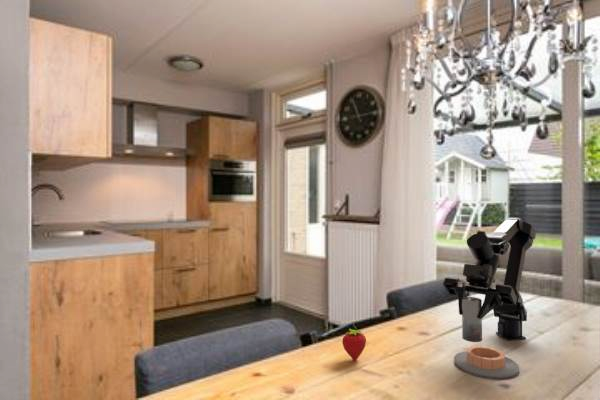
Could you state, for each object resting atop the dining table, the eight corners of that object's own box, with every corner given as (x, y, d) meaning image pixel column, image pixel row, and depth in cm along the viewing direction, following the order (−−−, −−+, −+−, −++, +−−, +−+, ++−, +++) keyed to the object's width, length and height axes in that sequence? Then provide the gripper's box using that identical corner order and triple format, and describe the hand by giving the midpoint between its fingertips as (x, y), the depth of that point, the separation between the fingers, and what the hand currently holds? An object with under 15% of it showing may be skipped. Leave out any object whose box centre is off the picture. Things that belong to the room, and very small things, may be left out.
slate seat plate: (493, 352, 115) (493, 340, 115) (533, 376, 100) (533, 362, 100) (443, 356, 113) (442, 344, 113) (476, 381, 97) (476, 367, 97)
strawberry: (337, 360, 111) (337, 325, 111) (356, 353, 116) (355, 319, 116) (352, 366, 106) (352, 330, 106) (371, 359, 111) (370, 324, 111)
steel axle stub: (470, 334, 111) (469, 296, 111) (486, 339, 107) (485, 299, 107) (458, 337, 109) (457, 298, 109) (474, 343, 104) (473, 302, 104)
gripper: (445, 250, 117) (427, 293, 110) (512, 256, 104) (497, 305, 96) (457, 272, 123) (441, 315, 115) (522, 281, 109) (509, 330, 102)
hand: (469, 316), depth 107 cm, fingers closed on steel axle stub, 5 cm apart
